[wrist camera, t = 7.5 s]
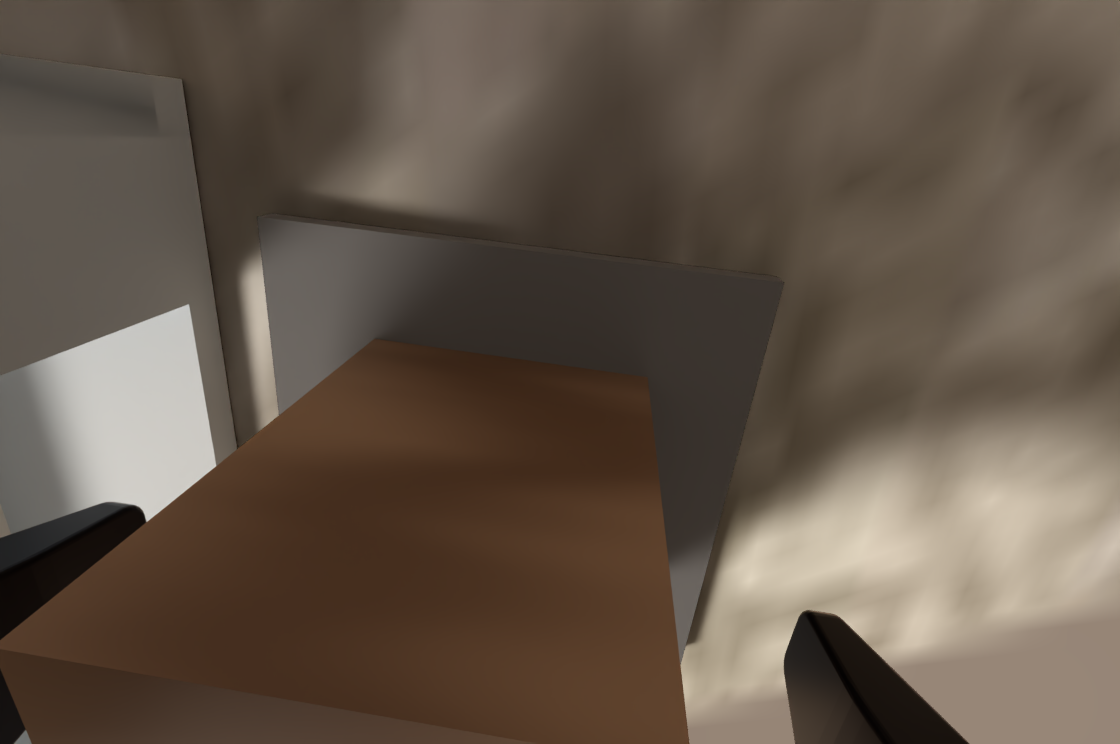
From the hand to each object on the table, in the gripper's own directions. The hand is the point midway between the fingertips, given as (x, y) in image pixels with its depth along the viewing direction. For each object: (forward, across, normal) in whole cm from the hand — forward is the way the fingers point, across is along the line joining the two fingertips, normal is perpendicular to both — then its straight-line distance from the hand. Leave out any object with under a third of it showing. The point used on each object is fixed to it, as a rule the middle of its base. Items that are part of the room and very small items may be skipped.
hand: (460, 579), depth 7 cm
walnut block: (+3, 0, 0) cm, 3 cm away
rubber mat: (+3, 0, 0) cm, 3 cm away
